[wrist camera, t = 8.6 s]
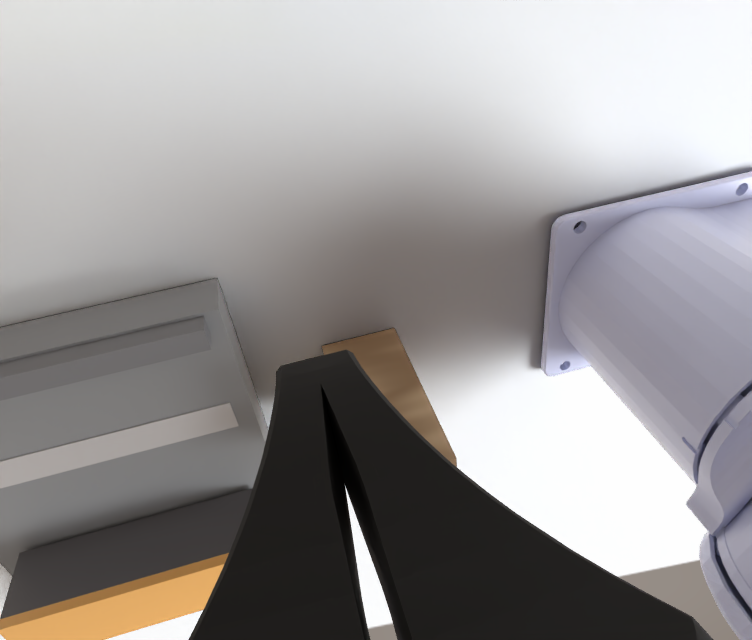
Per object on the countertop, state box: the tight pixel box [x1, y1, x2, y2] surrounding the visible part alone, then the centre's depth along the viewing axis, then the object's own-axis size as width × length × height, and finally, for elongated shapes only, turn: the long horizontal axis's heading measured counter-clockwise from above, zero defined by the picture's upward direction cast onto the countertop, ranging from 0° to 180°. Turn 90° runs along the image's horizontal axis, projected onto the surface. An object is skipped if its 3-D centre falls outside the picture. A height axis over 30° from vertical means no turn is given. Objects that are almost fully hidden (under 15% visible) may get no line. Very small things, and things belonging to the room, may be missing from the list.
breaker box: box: [0, 278, 268, 576], centre depth 22 cm, size 11×15×3 cm
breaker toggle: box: [0, 488, 253, 640], centre depth 22 cm, size 9×2×3 cm, turn 97°
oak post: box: [322, 328, 457, 467], centre depth 21 cm, size 3×3×7 cm
